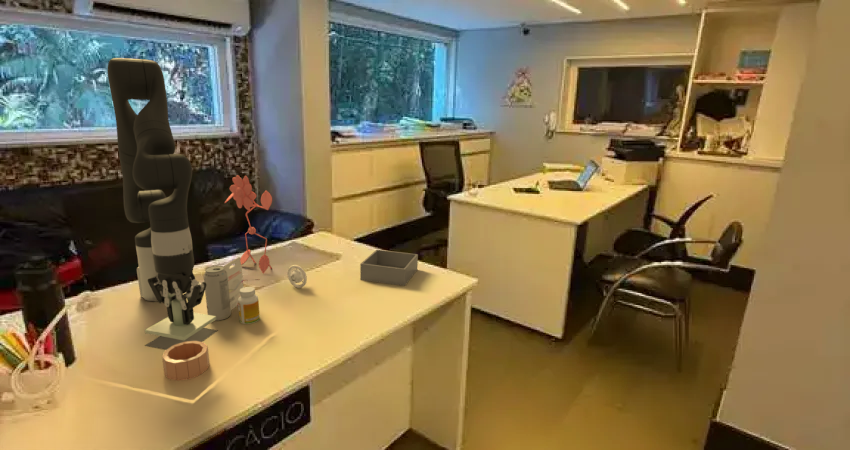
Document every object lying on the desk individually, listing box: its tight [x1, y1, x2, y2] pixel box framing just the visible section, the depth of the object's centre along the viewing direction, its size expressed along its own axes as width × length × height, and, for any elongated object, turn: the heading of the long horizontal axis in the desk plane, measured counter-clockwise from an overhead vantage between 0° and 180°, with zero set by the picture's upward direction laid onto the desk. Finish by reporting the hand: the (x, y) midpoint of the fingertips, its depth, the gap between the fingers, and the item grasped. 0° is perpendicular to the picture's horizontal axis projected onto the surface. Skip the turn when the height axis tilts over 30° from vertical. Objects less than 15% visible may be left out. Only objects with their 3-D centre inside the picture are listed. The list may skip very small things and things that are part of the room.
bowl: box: [161, 341, 210, 381], centre depth 105 cm, size 9×9×5 cm
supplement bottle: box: [237, 286, 261, 325], centre depth 128 cm, size 5×5×10 cm
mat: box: [144, 327, 219, 351], centre depth 119 cm, size 12×12×1 cm
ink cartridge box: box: [223, 256, 244, 311], centre depth 136 cm, size 9×5×15 cm, turn 170°
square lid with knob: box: [144, 299, 216, 340], centre depth 102 cm, size 10×10×6 cm
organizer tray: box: [359, 249, 419, 287], centre depth 165 cm, size 16×16×6 cm
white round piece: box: [286, 264, 308, 289], centre depth 152 cm, size 8×6×8 cm
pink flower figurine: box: [224, 174, 273, 282], centre depth 160 cm, size 15×26×35 cm, turn 57°
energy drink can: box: [203, 265, 232, 322], centre depth 128 cm, size 6×6×15 cm
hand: (181, 321), depth 102 cm, fingers closed on square lid with knob, 3 cm apart
